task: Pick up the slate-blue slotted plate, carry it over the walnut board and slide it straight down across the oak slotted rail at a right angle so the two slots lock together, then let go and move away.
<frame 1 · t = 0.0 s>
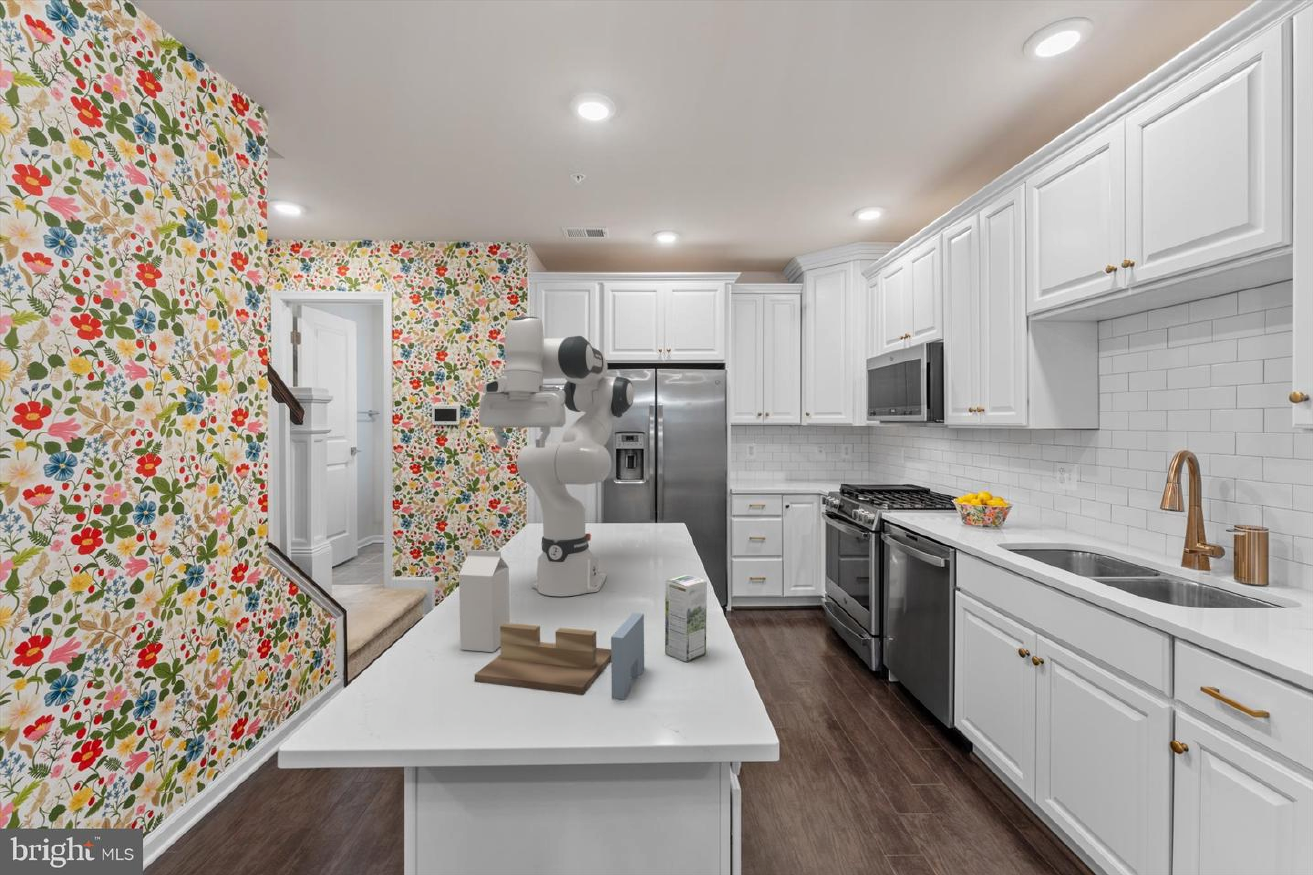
hand: (521, 447, 130), 39 cm above the counter, tool pointing down, fingers open, 8 cm apart
rail stand: (548, 667, 105), on the counter
syrup box: (686, 655, 111), on the counter
slotted plate: (628, 682, 99), on the counter
milk carton: (485, 645, 116), on the counter
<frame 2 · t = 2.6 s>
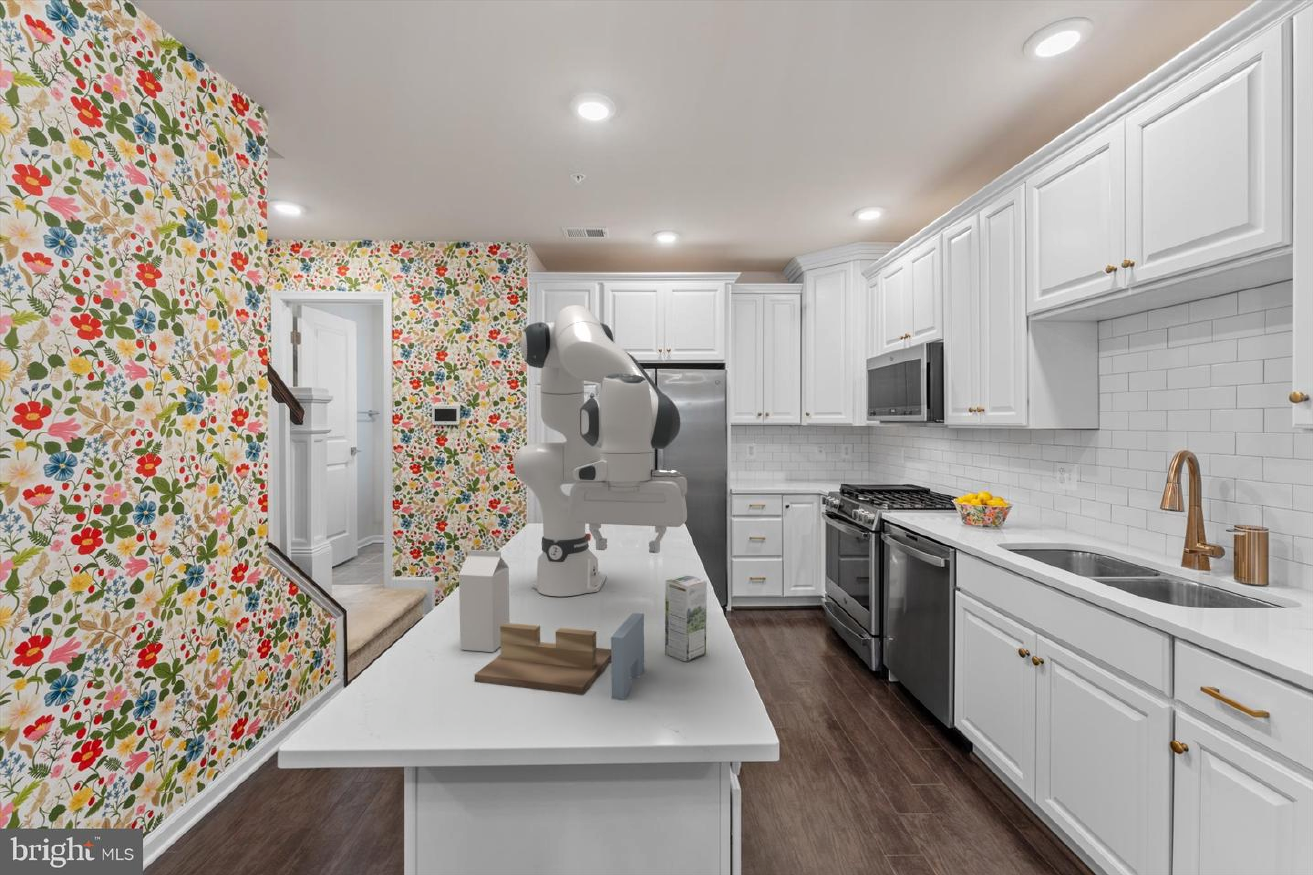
hand: (627, 550, 98), 23 cm above the counter, tool pointing down, fingers open, 8 cm apart
nothing on the counter moved.
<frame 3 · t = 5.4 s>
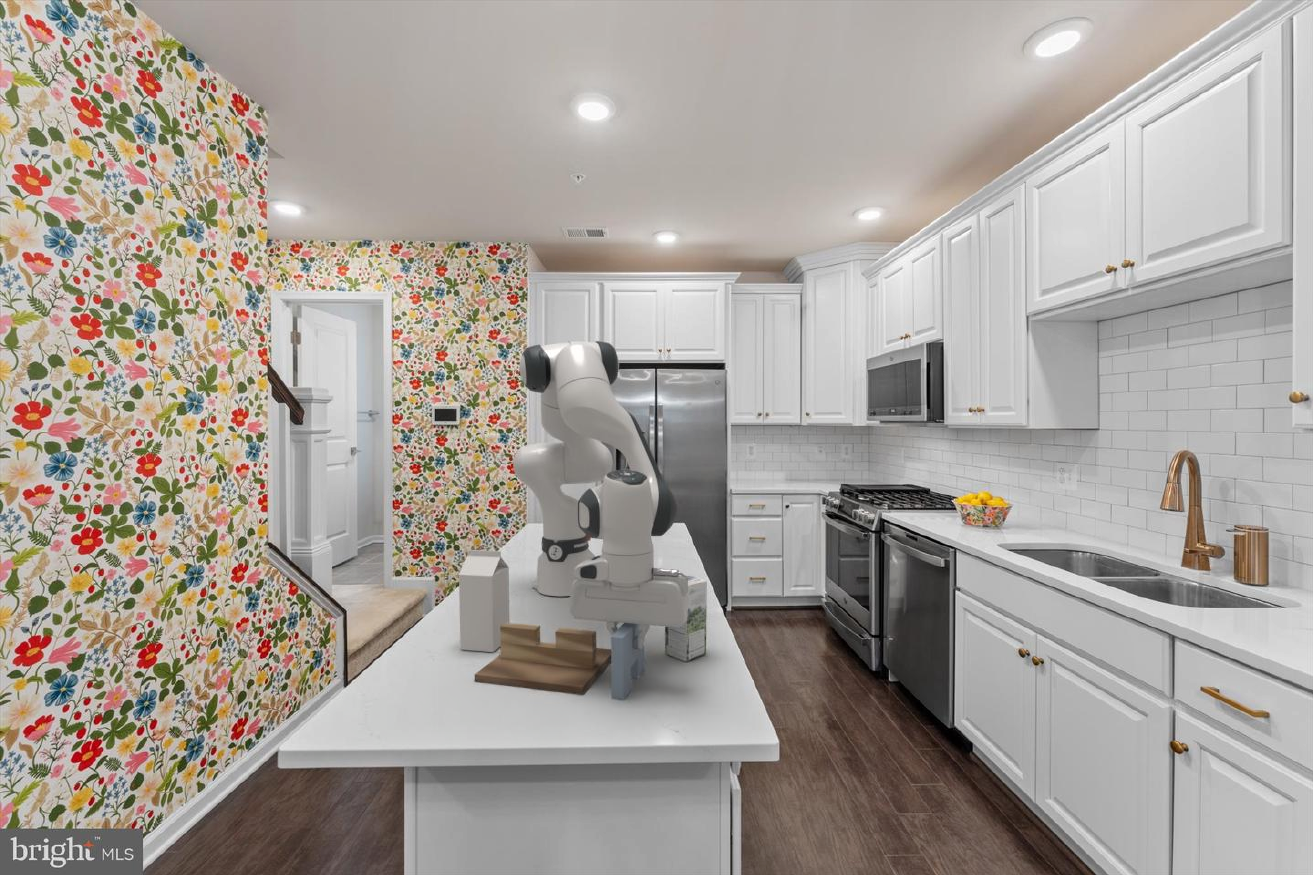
hand: (628, 647, 99), 6 cm above the counter, tool pointing down, fingers closed on slotted plate, 2 cm apart
slotted plate: (628, 682, 99), on the counter, touching gripper
everything else where it was.
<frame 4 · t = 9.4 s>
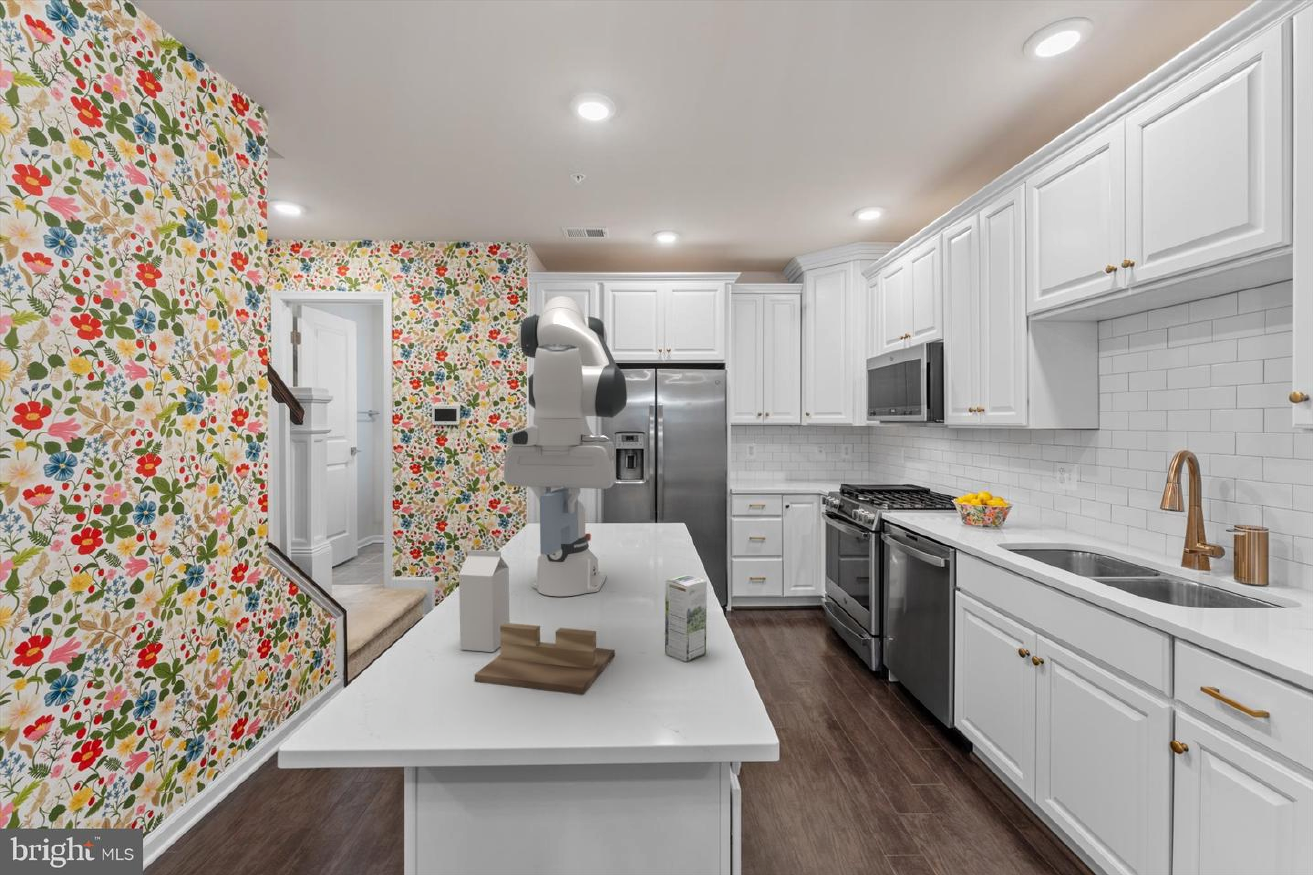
hand: (559, 512, 103), 28 cm above the counter, tool pointing down, fingers closed on slotted plate
slotted plate: (560, 546, 104), point 22 cm above the counter, touching gripper
everything else where it was.
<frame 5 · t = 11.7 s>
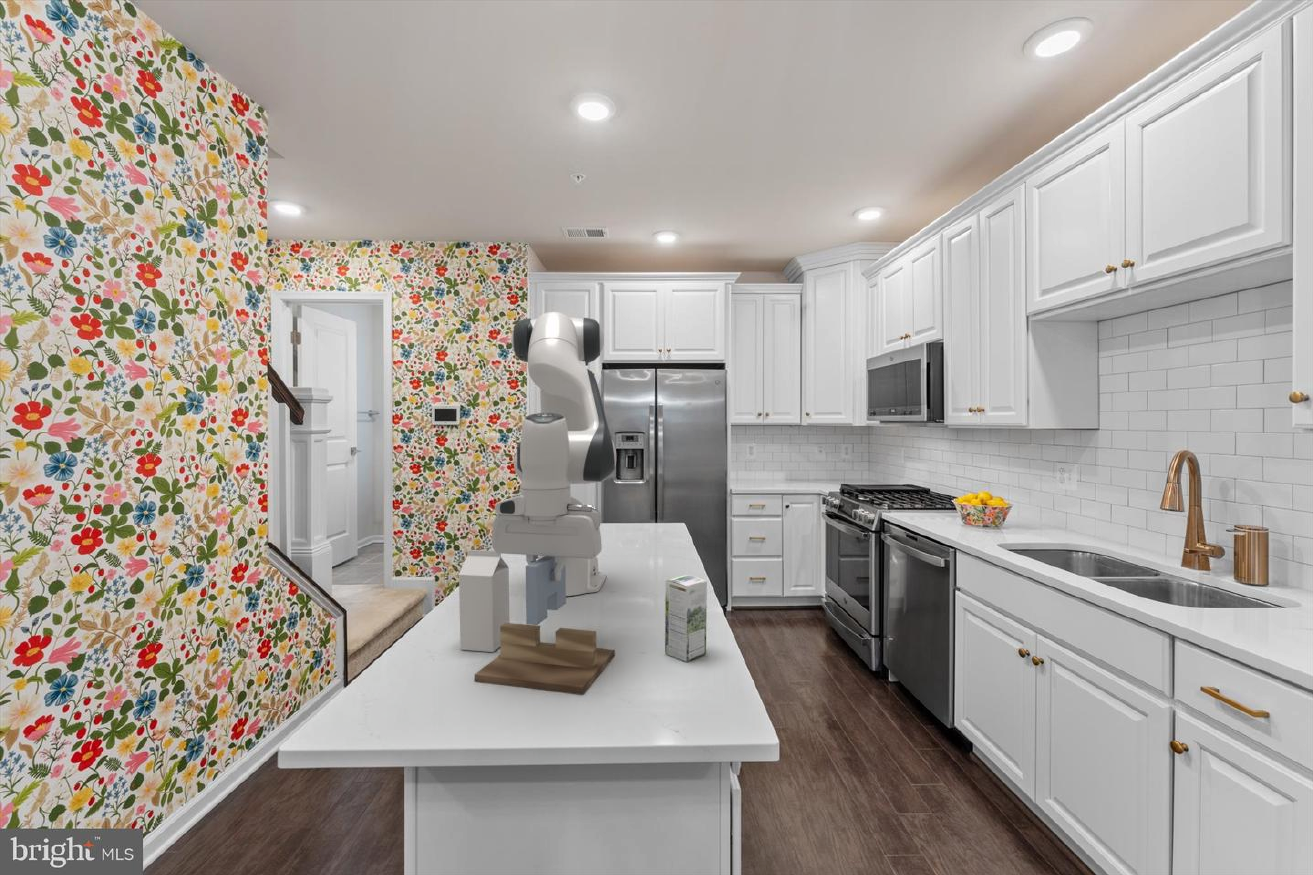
hand: (546, 579, 105), 16 cm above the counter, tool pointing down, fingers closed on slotted plate
slotted plate: (547, 613, 105), point 10 cm above the counter, touching gripper
everything else where it was.
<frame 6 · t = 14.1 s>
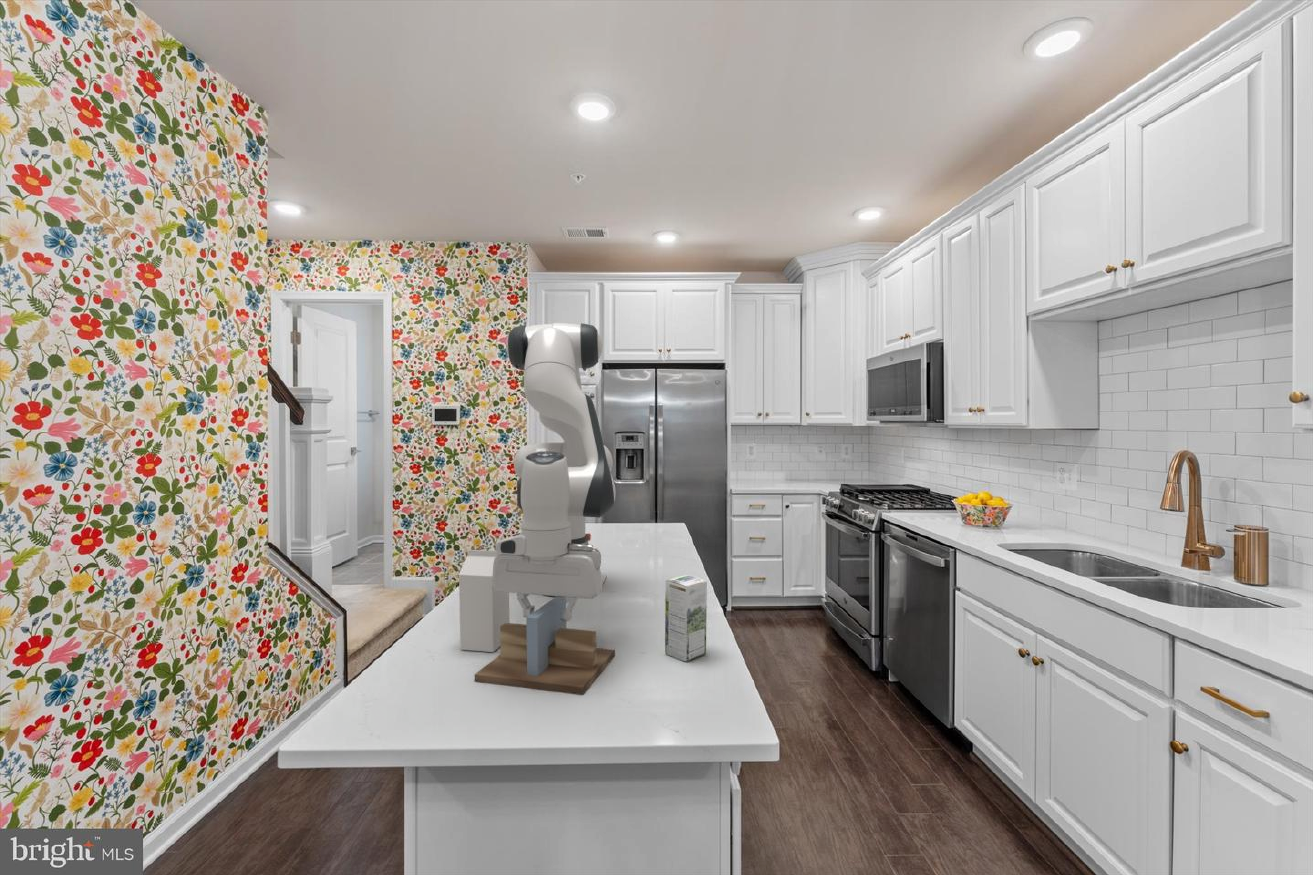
hand: (547, 618, 105), 9 cm above the counter, tool pointing down, fingers open, 6 cm apart
slotted plate: (547, 661, 105), point 1 cm above the counter, touching rail stand
everything else where it was.
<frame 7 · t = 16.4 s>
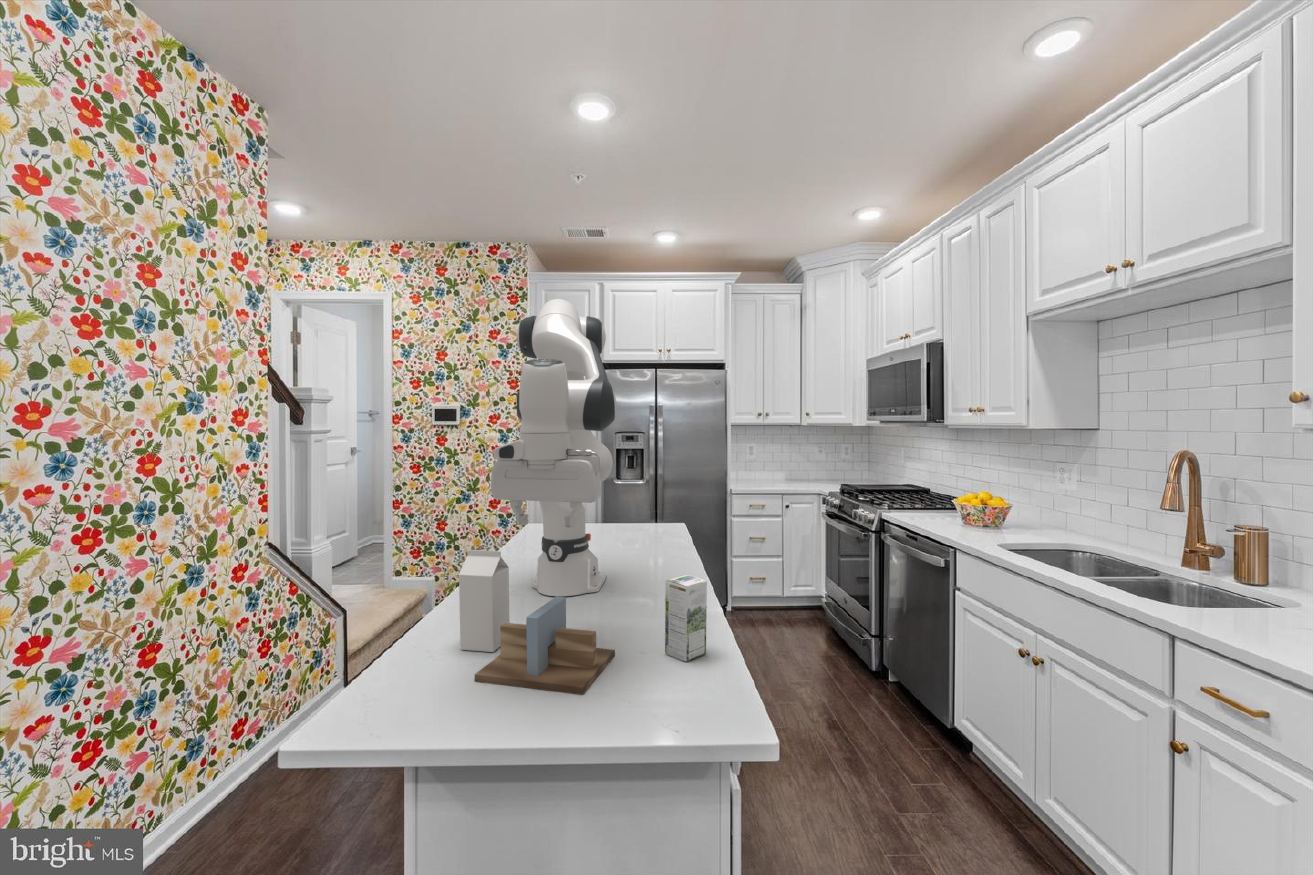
hand: (546, 525, 104), 26 cm above the counter, tool pointing down, fingers open, 8 cm apart
nothing on the counter moved.
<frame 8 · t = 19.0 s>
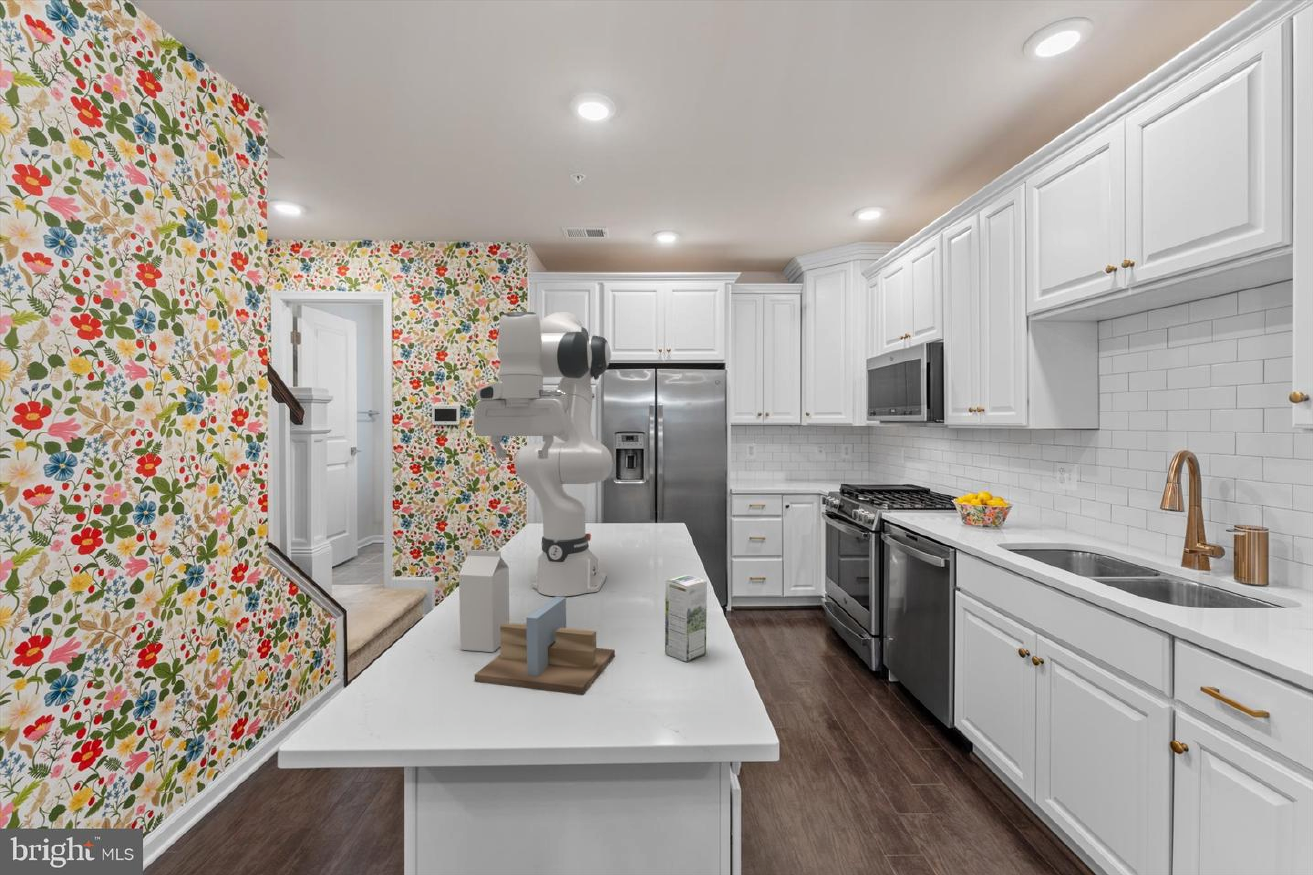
hand: (522, 458, 118), 37 cm above the counter, tool pointing down, fingers open, 8 cm apart
nothing on the counter moved.
at the end: slotted plate 0.0 cm off-centre on the rail stand, point 1.2 cm above the rail stand's base; slotted plate tilted 0°; the gripper is holding nothing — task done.
